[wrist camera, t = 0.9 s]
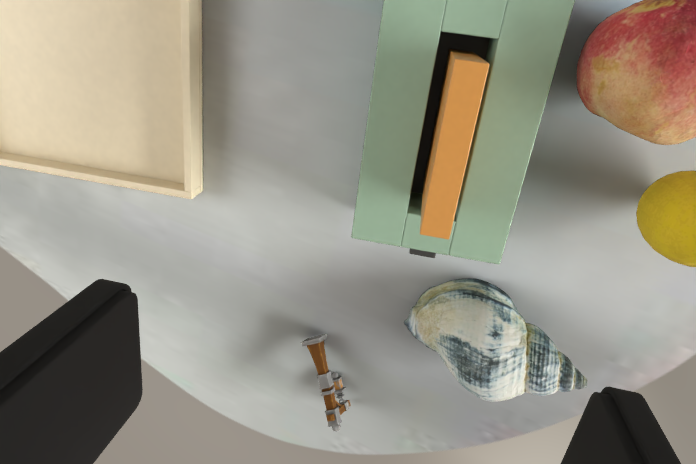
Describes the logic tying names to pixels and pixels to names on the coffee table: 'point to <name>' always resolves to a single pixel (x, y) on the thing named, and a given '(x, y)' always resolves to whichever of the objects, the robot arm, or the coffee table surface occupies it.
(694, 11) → the fruit
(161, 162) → the tray
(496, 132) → the toaster
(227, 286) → the coffee table surface
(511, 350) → the seashell
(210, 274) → the coffee table surface
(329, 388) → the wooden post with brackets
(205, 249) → the coffee table surface
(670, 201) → the lemon
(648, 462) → the robot arm
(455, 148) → the toast
